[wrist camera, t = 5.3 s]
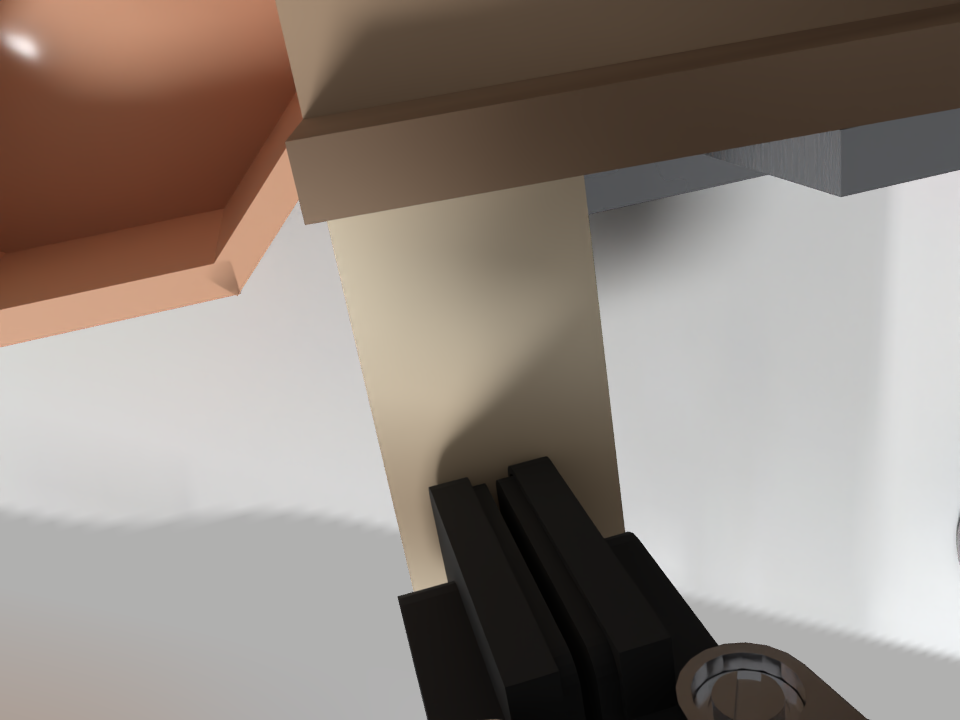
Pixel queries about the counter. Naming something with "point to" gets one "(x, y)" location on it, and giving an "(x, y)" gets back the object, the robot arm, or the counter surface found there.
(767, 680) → the robot arm
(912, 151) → the chute stand
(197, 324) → the counter surface
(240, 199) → the terracotta bowl
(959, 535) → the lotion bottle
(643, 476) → the counter surface
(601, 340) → the tilt chute
